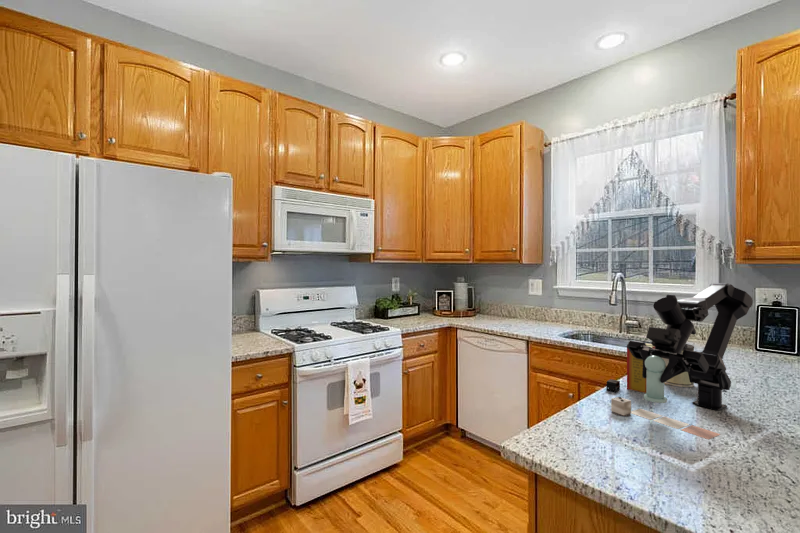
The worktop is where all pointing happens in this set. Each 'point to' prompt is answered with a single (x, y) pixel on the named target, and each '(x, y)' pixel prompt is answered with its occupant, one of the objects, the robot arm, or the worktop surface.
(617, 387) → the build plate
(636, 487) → the worktop surface
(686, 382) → the coffee can
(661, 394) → the pawn
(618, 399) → the game board
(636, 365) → the baking soda box
